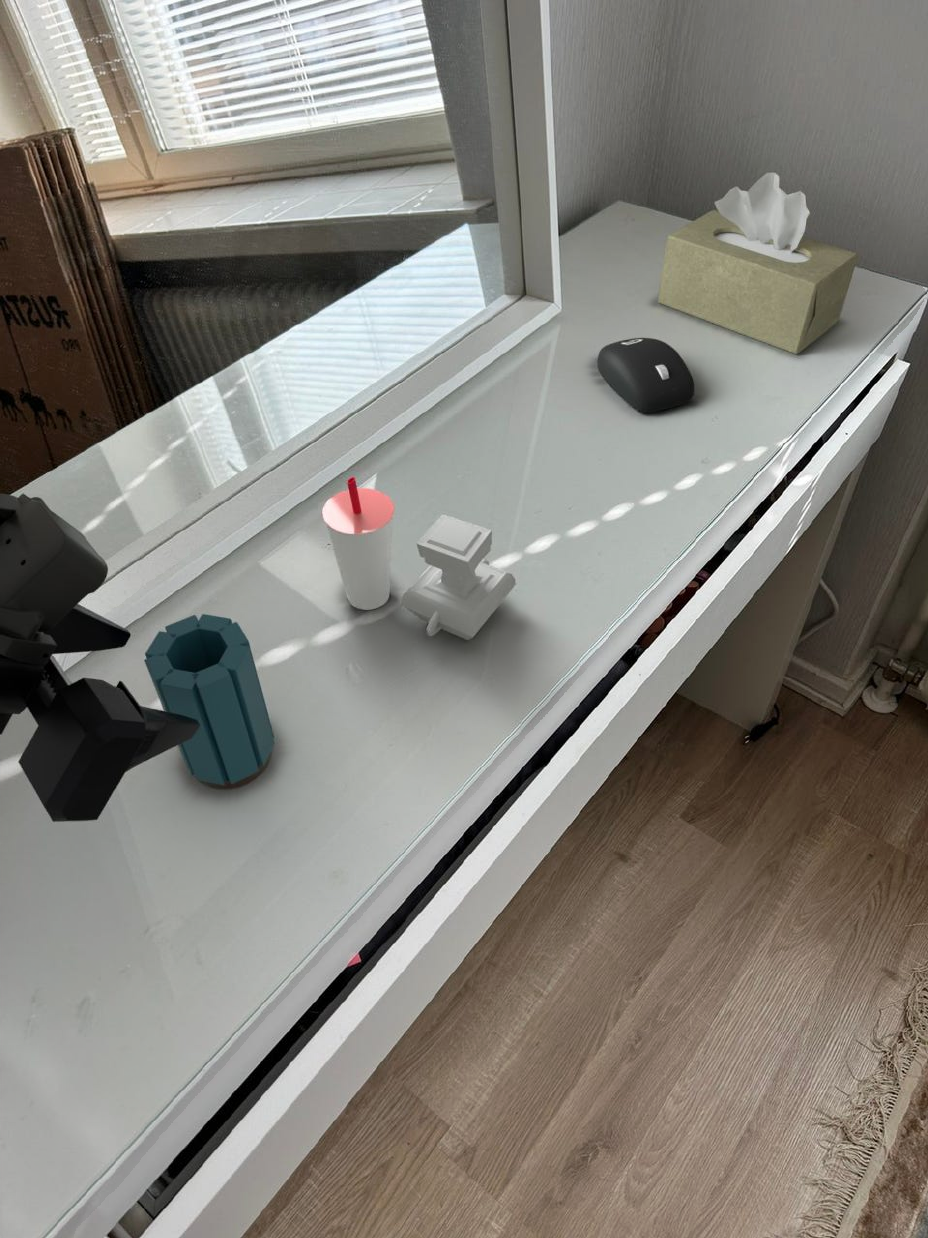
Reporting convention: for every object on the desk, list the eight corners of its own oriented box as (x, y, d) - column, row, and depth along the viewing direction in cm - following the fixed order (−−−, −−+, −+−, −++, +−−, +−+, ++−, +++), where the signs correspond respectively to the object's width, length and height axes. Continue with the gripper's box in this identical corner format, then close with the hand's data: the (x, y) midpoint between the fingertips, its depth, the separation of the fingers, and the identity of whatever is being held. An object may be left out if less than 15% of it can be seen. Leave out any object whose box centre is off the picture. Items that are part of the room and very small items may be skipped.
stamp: (466, 669, 69) (465, 588, 63) (393, 636, 72) (385, 556, 65) (522, 596, 74) (526, 516, 68) (452, 568, 77) (450, 488, 71)
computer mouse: (639, 348, 101) (644, 314, 98) (701, 402, 94) (709, 368, 91) (580, 363, 99) (583, 329, 96) (638, 420, 92) (644, 385, 89)
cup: (330, 617, 73) (310, 498, 64) (341, 571, 77) (324, 453, 68) (397, 620, 73) (386, 501, 64) (404, 574, 76) (395, 455, 68)
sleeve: (202, 798, 60) (165, 703, 53) (172, 736, 64) (133, 638, 57) (286, 758, 62) (261, 661, 55) (252, 700, 66) (224, 602, 59)
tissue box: (654, 302, 109) (675, 161, 97) (698, 273, 114) (723, 136, 102) (799, 356, 100) (841, 209, 88) (840, 323, 105) (885, 179, 93)
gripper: (34, 616, 36) (310, 664, 49) (-105, 411, 46) (153, 495, 59) (-84, 833, 38) (209, 825, 51) (-192, 593, 48) (75, 636, 61)
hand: (159, 682), depth 55 cm, fingers open, 9 cm apart
